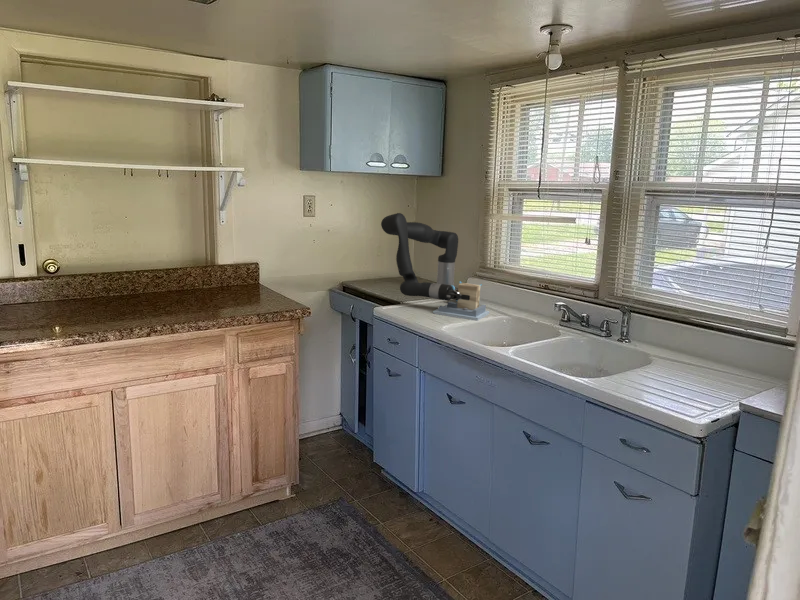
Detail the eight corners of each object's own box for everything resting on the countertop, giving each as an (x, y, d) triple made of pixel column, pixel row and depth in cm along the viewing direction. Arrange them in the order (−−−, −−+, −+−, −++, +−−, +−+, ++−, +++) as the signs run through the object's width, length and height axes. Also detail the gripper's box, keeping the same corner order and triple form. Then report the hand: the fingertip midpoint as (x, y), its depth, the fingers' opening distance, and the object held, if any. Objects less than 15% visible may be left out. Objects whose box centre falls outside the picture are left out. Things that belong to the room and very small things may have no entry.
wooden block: (460, 309, 279) (462, 282, 276) (478, 312, 275) (480, 285, 272) (456, 311, 275) (458, 284, 272) (475, 314, 271) (477, 286, 268)
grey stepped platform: (446, 307, 288) (446, 298, 287) (489, 313, 278) (489, 305, 277) (432, 313, 274) (433, 304, 273) (477, 320, 264) (478, 311, 264)
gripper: (435, 286, 272) (467, 290, 265) (446, 281, 285) (478, 285, 277) (434, 302, 274) (466, 307, 267) (446, 296, 286) (477, 301, 279)
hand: (472, 296), depth 272 cm, fingers open, 8 cm apart
